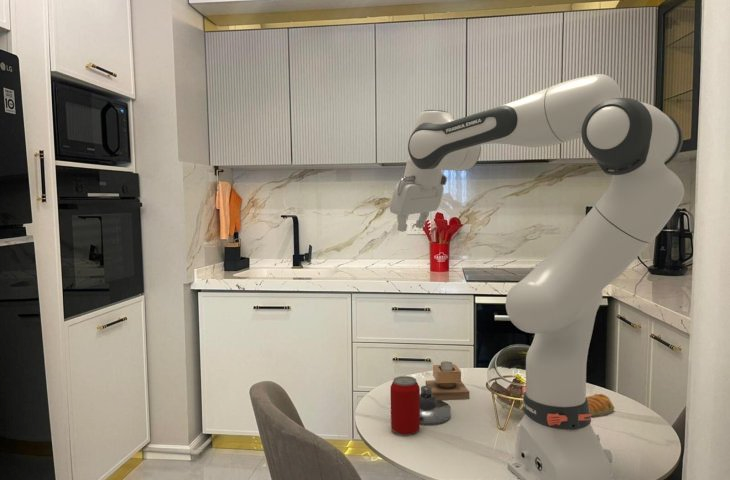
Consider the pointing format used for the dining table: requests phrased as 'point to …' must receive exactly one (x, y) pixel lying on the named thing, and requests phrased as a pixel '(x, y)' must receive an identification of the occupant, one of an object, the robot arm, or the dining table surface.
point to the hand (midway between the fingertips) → (410, 229)
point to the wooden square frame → (446, 375)
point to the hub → (432, 408)
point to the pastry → (599, 405)
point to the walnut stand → (448, 387)
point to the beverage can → (405, 405)
